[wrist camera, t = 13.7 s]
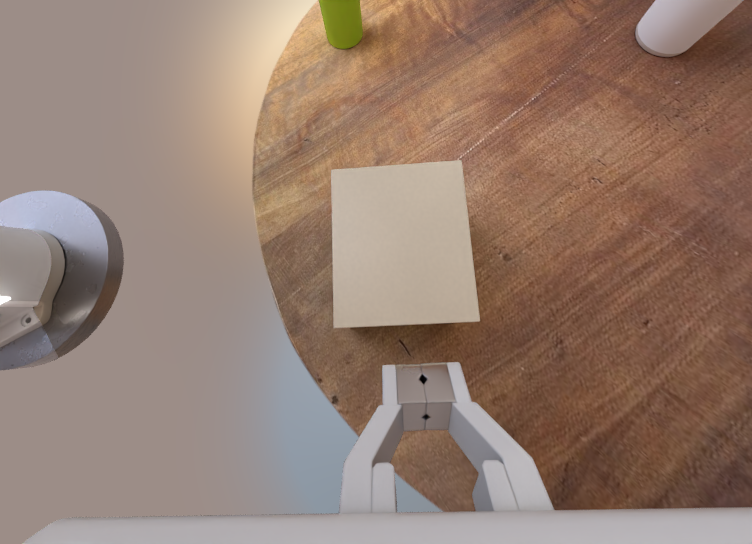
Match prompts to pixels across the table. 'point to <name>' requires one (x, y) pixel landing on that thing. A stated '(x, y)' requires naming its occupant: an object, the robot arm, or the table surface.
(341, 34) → the soap dispenser
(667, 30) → the mug
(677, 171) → the table surface
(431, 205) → the lid
